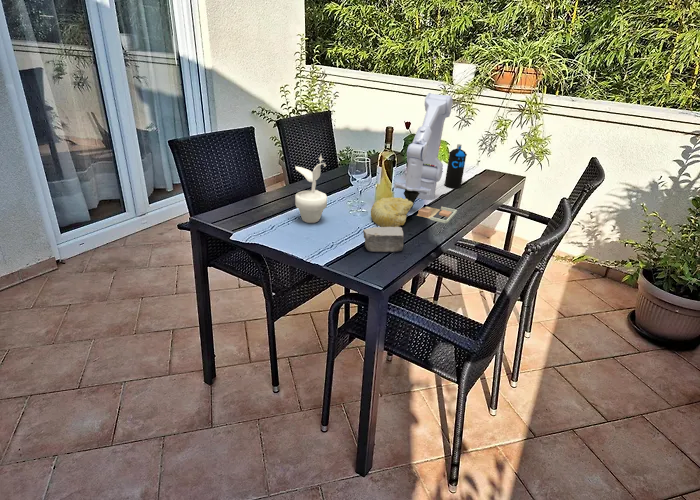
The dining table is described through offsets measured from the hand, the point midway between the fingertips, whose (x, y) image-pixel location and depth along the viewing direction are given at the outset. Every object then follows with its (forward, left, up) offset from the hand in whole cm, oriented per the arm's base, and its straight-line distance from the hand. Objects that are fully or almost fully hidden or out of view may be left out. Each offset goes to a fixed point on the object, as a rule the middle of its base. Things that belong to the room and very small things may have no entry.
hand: (409, 208), depth 179 cm
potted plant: (-29, -27, -3) cm, 40 cm away
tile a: (+13, +5, -2) cm, 14 cm away
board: (+7, +4, -3) cm, 8 cm away
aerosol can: (+4, +49, -3) cm, 49 cm away
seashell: (-2, -12, -3) cm, 13 cm away
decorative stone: (+4, -34, -3) cm, 34 cm away
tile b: (+6, 0, -1) cm, 6 cm away
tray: (+13, +4, -3) cm, 14 cm away
